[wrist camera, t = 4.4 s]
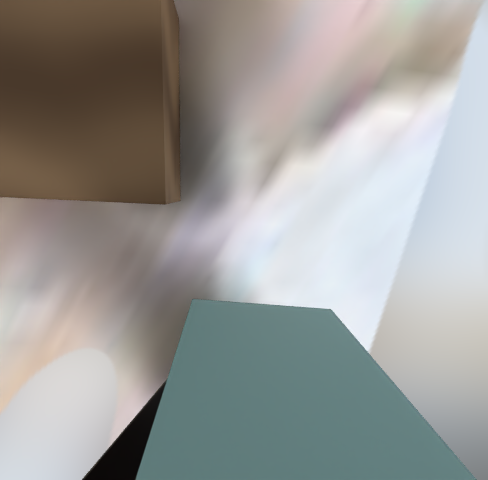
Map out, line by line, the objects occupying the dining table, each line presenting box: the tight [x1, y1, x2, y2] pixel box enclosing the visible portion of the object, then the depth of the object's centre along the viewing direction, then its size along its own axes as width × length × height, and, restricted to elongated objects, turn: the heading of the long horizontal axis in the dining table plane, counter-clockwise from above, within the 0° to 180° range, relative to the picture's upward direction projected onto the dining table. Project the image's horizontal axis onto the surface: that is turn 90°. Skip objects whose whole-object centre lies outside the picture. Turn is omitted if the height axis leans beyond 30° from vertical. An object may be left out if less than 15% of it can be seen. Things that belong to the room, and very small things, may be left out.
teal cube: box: [136, 299, 477, 480], centre depth 6 cm, size 5×5×5 cm
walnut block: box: [0, 0, 180, 204], centre depth 12 cm, size 10×10×4 cm
